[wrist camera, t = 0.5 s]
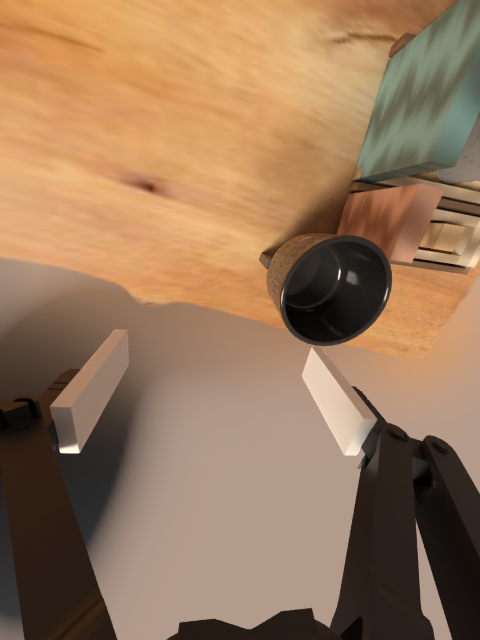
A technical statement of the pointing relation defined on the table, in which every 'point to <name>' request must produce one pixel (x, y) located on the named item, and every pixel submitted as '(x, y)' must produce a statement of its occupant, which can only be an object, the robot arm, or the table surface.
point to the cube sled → (408, 223)
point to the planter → (328, 286)
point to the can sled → (427, 105)
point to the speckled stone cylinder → (465, 160)
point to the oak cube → (441, 236)
